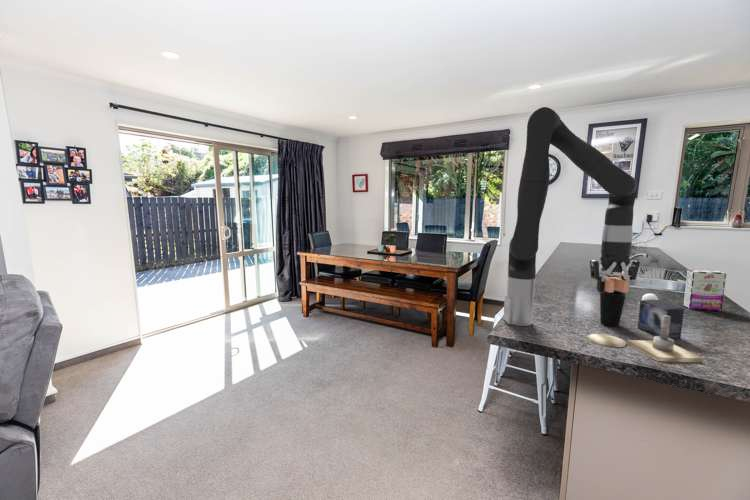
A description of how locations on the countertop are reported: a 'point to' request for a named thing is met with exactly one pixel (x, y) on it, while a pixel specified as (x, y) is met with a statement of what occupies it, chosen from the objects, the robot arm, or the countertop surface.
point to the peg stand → (664, 347)
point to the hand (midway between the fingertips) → (611, 292)
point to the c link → (616, 284)
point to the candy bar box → (704, 289)
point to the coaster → (607, 340)
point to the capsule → (649, 297)
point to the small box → (660, 317)
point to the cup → (611, 308)
